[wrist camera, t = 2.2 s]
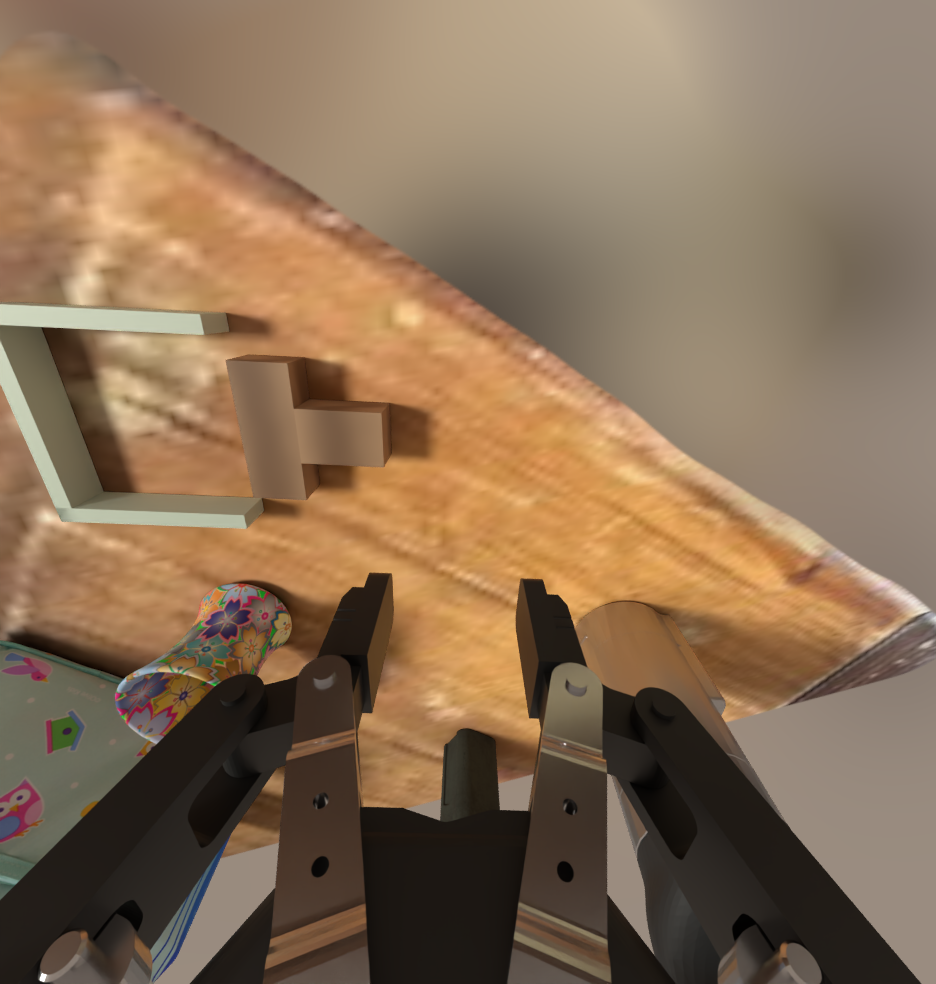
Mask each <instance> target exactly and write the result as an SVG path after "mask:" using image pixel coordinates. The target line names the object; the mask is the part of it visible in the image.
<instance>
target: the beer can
mask: <svg viewBox="0 0 936 984" xmlns="http://www.w3.org/2000/svg"><path fill="white" fill-rule="evenodd" d="M229 837H230V836H229ZM228 840H229V838H228V839H227V840H226V842H225V843H224V845H223V846H222V848H221V849H220V851H219V852H218V853H217V855H216V856H215V858H214V859H213V861H212V862H211V864H210V865H209V866H208V868H207V869H206V871H205V872H204V874H203V875H202V877H201V878H200V879H199V881H198V882H197V884H196V885H195V887H194V888H193V890H192V891H191V892H190V894H189V895H188V897H187V898H186V900H185V901H184V903H183V904H182V905H181V907H180V908H179V910H178V911H177V913H176V914H175V916H174V917H173V918H172V920H171V921H170V923H169V924H168V926H167V927H166V929H165V930H164V931H163V933H162V934H161V936H160V937H159V939H158V940H157V942H156V943H155V944H154V946H153V947H152V949H151V950H150V952H151V955H152V962H153V965H152V974H151V979H150V983H149V984H154V982H155V981H156V980H157V979H158V978H159V977H160V975H161V974H162V973H163V972H164V971H165V970H166V969H167V968H168V967H169V966H170V965H171V964H172V962H173V961H174V959H176V957H177V955H178V953H179V951H180V948H181V946H182V944H183V942H184V939H185V937H186V935H187V933H188V930H189V928H190V926H191V924H192V921H193V919H194V917H195V915H196V912H197V910H198V908H199V905H200V903H201V901H202V899H203V896H204V894H205V892H206V890H207V887H208V885H209V883H210V880H211V878H212V876H213V874H214V871H215V869H216V867H217V865H218V862H219V860H220V858H221V856H222V853H223V851H224V849H225V847H226V844H227V842H228Z"/></svg>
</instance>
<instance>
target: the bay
mask: <svg viewBox="0 0 936 984" xmlns="http://www.w3.org/2000/svg"><path fill="white" fill-rule="evenodd" d="M41 327H54V328H74V329H94V330H114V331H135V332H155V333H175V334H195V335H208V334H215V333H222V332H230V331H229V326H228V321H227V316H226V313H221V312H201V311H181V310H161V309H142V308H122V307H102V306H82V305H63V304H43V303H23V302H0V384H1V386H2V388H3V391H4V393H5V395H6V397H7V400H8V402H9V404H10V406H11V409H12V411H13V413H14V415H15V418H16V420H17V422H18V424H19V427H20V429H21V431H22V433H23V436H24V438H25V440H26V442H27V445H28V447H29V449H30V451H31V454H32V456H33V458H34V460H35V463H36V465H37V467H38V469H39V472H40V474H41V476H42V478H43V481H44V483H45V485H46V487H47V490H48V492H49V494H50V496H51V499H52V501H53V503H54V505H55V508H56V510H57V512H58V514H59V517H60V519H61V521H62V522H88V523H114V524H139V525H165V526H191V527H217V528H242V529H247V528H248V527H249V526H250V525H251V524H252V523H253V522H254V521H255V520H256V519H257V518H258V516H259V515H260V514H261V513H262V512H263V511H264V507H263V502H262V498H251V497H226V496H201V495H177V494H152V493H127V492H104V491H103V489H102V486H101V483H100V481H99V478H98V475H97V473H96V470H95V468H94V465H93V462H92V460H91V457H90V454H89V452H88V449H87V446H86V444H85V441H84V439H83V436H82V433H81V431H80V428H79V425H78V423H77V420H76V417H75V415H74V412H73V410H72V407H71V404H70V402H69V399H68V396H67V394H66V391H65V388H64V386H63V383H62V381H61V378H60V375H59V373H58V370H57V367H56V365H55V362H54V359H53V357H52V354H51V352H50V349H49V346H48V344H47V341H46V338H45V336H44V333H43V330H42V328H41Z"/></svg>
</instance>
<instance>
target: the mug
mask: <svg viewBox="0 0 936 984" xmlns="http://www.w3.org/2000/svg"><path fill="white" fill-rule="evenodd" d="M291 629H292V621H291V617H290V614H289V612H288V610H287V608H286V607H285V606H284V604H283V603H282V602H281V601H280V600H279V599H278V598H277V597H275V596H274V595H273V594H271V593H269V592H268V591H266V590H264V589H262V588H259V587H256V586H253V585H248V584H238V583H236V584H226V585H222V586H219V587H217V588H215V589H213V590H212V591H210V592H209V593H208V594H207V595H206V596H205V597H204V598H203V600H202V602H201V604H200V607H199V614H198V617H197V619H196V621H195V623H194V625H193V626H192V628H191V629H190V630H189V632H188V633H187V634H186V635H185V636H184V637H183V638H182V640H181V641H179V642H178V643H177V644H176V645H175V646H174V647H173V648H172V649H170V650H169V651H168V652H166V653H165V654H164V655H162V656H161V657H159V658H158V659H156V660H155V661H153V662H151V663H150V664H148V665H146V666H144V667H142V668H140V669H138V670H136V671H135V672H133V673H131V674H129V675H128V676H127V677H126V678H125V679H123V681H122V682H121V683H120V684H119V686H118V688H117V690H116V694H115V703H116V707H117V710H118V712H119V714H120V716H121V717H122V719H123V720H124V721H125V723H126V724H127V725H128V726H129V727H130V728H131V729H133V730H134V731H135V732H136V733H138V734H139V735H141V736H142V737H144V738H146V739H147V740H149V741H151V742H153V743H156V744H157V743H158V742H159V741H160V740H161V739H162V738H163V737H164V736H165V735H166V734H167V733H168V732H169V731H170V730H171V729H172V728H173V727H174V726H175V725H176V724H177V723H178V722H179V721H180V720H181V719H182V718H183V717H184V716H185V715H186V714H187V713H188V712H189V711H190V710H191V709H192V708H193V707H194V706H195V705H196V704H197V703H198V702H199V701H200V700H201V699H202V698H203V697H204V696H205V695H206V694H207V693H208V692H209V691H210V690H211V689H212V688H214V687H215V686H216V685H217V684H219V683H220V682H222V681H223V680H225V679H227V678H229V677H232V676H235V675H239V674H253V675H256V676H257V675H258V673H259V671H260V669H261V667H262V665H263V664H264V662H265V661H266V659H267V658H268V657H269V656H270V654H271V653H272V652H273V651H275V650H276V649H278V648H279V647H281V646H282V645H283V644H284V643H285V642H286V641H287V639H288V638H289V636H290V633H291Z"/></svg>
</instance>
